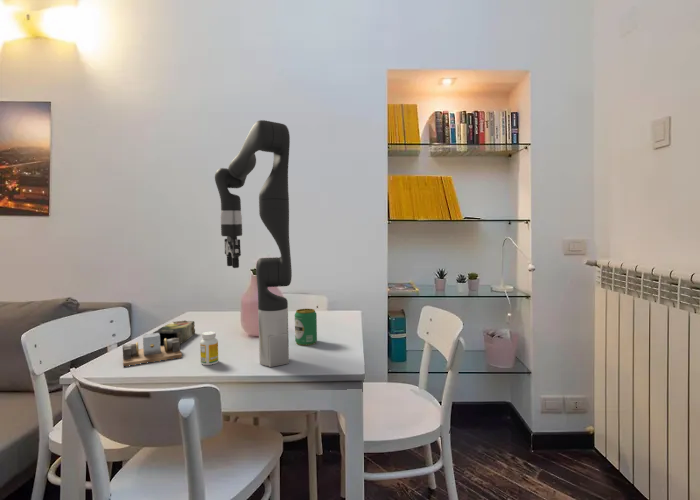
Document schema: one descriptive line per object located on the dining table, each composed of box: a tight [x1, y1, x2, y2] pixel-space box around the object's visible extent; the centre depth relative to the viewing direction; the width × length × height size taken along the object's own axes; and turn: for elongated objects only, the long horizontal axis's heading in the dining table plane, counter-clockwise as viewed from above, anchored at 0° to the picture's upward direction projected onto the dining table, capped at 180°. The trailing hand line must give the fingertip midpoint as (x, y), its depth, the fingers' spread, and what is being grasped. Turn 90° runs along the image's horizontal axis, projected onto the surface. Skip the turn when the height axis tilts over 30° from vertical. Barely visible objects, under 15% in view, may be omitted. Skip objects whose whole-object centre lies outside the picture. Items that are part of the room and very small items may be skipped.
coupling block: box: [142, 332, 162, 356], centre depth 137 cm, size 5×5×6 cm
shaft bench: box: [122, 337, 183, 367], centre depth 137 cm, size 17×14×5 cm
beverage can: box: [294, 308, 318, 346], centre depth 150 cm, size 8×8×12 cm
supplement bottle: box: [199, 331, 219, 366], centre depth 130 cm, size 5×5×10 cm
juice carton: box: [152, 320, 196, 344], centre depth 157 cm, size 20×10×6 cm, turn 3°
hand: (232, 266), depth 152 cm, fingers open, 8 cm apart
